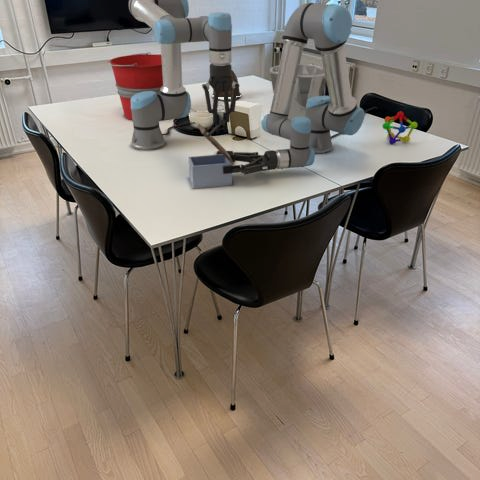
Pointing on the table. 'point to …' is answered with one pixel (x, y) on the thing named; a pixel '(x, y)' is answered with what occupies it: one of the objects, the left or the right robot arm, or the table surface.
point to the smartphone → (227, 151)
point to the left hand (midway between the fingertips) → (221, 131)
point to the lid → (211, 139)
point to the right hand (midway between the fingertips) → (220, 164)
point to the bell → (230, 87)
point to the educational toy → (398, 128)
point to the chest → (209, 171)
